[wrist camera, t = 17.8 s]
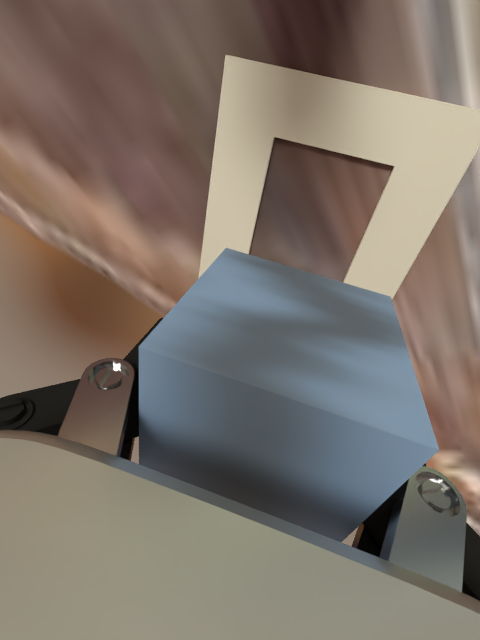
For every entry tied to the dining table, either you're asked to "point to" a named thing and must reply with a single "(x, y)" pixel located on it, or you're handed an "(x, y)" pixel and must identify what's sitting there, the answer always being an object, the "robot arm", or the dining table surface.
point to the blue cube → (283, 395)
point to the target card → (343, 137)
